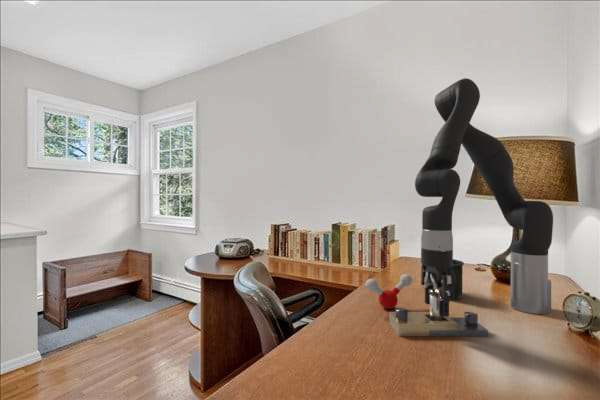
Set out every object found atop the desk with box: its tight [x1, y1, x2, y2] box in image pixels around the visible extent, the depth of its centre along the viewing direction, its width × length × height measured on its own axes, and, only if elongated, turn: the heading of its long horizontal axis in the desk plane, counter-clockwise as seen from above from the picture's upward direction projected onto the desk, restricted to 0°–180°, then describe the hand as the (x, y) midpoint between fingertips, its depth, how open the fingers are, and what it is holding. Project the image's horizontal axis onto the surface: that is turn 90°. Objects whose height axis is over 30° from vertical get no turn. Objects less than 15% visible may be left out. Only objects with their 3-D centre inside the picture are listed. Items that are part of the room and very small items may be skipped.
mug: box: [447, 258, 465, 300], centre depth 109 cm, size 11×15×12 cm
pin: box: [429, 289, 442, 321], centre depth 80 cm, size 4×4×10 cm
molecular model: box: [365, 273, 413, 310], centre depth 95 cm, size 18×6×10 cm, turn 124°
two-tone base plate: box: [388, 307, 489, 337], centre depth 80 cm, size 22×8×5 cm, turn 90°
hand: (436, 309), depth 80 cm, fingers open, 8 cm apart
